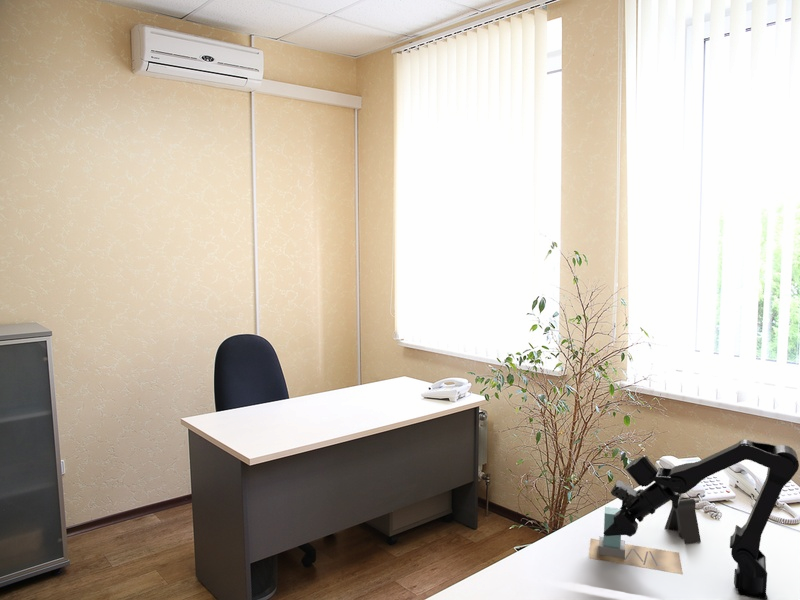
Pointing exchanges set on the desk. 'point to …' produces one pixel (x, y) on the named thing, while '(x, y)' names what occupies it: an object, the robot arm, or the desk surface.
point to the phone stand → (684, 520)
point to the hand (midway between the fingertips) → (608, 527)
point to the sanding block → (611, 538)
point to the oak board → (641, 557)
